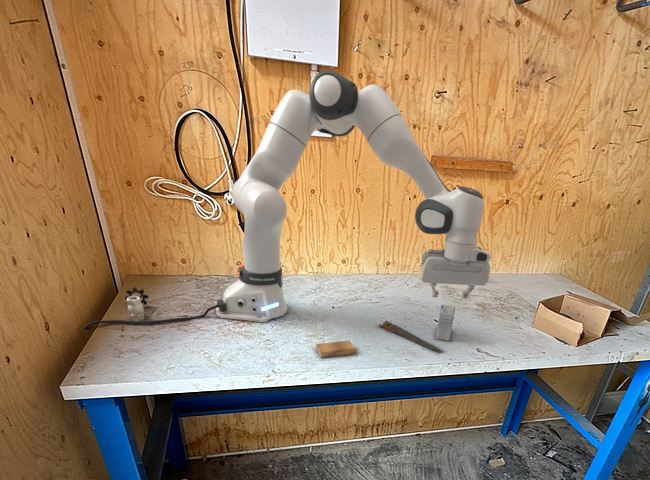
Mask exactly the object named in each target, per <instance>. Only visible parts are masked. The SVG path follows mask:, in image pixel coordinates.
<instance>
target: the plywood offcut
mask: <svg viewBox="0 0 650 480" xmlns="http://www.w3.org/2000/svg"><path fill="white" fill-rule="evenodd" d="M315 350H316V352H317V353H318V355H319V357H320V358H321V359H323V358H330V357H338V356H339V357H340V356H347V355H348V356H349V355H355V354H356V348H355V346H354V345H353V343H352V341H351V340H342V341H332V342H323V343H316V345H315Z"/></svg>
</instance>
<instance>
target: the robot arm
mask: <svg viewBox="0 0 650 480" xmlns="http://www.w3.org/2000/svg"><path fill="white" fill-rule="evenodd" d="M355 127H356V128H357V129H359V131H360V132H361V133H362V134H363V137H364V138H365V141H366V142H367V143H368V146H369V147H370V148H371V150H372V152H373V153H374V154H375V156H376V157H377V158H378V159H379V160H380V161H381V162H382V164H384V165H386V166H389V167H392V168H395V169H397V170H400V171H402V172H404V173H405V174H407V175H408V176H409V177H410V178H411V179H412V180H413V182H414V183H415V184H416V186H417V188H418V189H419V191H420V192H421V194H422V195H423V196H424V198H425V199H424V200H423V201H421V202H420V203H419V204H418V205H417V206H416V210H415V213H414V219H415V224H416V226H417V227H418V229H419V230H420V231H421V232H422V233H424V234H427V235H444V236H445V239H444V244H443V249H432V248H430V249H427V250H425V251H424V252H423V253H422V256H421V267H420V270H419V279H420V280H421V282H422V283H424V284H429V285H430V288H431V291H432V292H431V297H432V298H439V290H438V289H436V288H435V287H437V284H443V285H464V286H468V288H467V289H466V290H465V291H464V290H463V291H462V294H461V298H462V299H464V300H468V299H469V297H470V294H471V293H472V292H473V291H474V289H475V287H476V286H481V287H483V286H486V285H487V284H488V282H489V279H490V278H489V277H490V273H491V265H490V263H489V262H490V260H491V258H492V257H491V254H490V253H489V252H488V251H487V250H486V249H485V248H482V247H481V246H478V245H477V244H478V233H479V230H480V228H481V226H482V225H481V224H482V221H483V214H484V206H485V205H484V204H485V199H484V195H483V194H482V193H481V192H480V191H479V190H476V189H475V188H471V187H468V186H458V187H456V188H455V189H453V190H450V189H449V188H448V187H447V186H446V185H445V183H444V182H443V180H442V179H441V177H440V175H439V174H438V173H437V171H436V169H435V168H434V167H433V165H432V164H431V162H430V161H429V159H428V157H427V156H426V155H425V153H424V152H423V150H422V148H421V146H420V145H419V143H418V142H417V140H416V138H415V136H414V135H413V133H412V131H411V129H410V127H409V125H408V124H407V122H406V120H405V118H404V117H403V115H402V114H401V111H400V110H399V108H398V107H397V105H396V104H395V103H394V101H393V100H392V98H391V97H390V96H389V95H388V93H387V92H386V91H385V90H384V89H383V88H382V87H381V86H380V85H378V84H375V83H374V84H369V85H366V86H364V87H363V88H361V89H360V90H358V86H357V84H356V83H355V82H353V81H352V80H349V79H348V78H346V77H344V76H343V75H342V74H340V73H338V72H336V71H334V70H330V69H327V70H321V71H320V72H318V73H317V74H316V75H315V76H314V78H312V80H311V83H310V86H309V92H308V94H307V93H306V92H305V91H302V90H299V89H290V90H288V91H287V92H286V93H284V96H283V97H282V99H280V102H279V103H278V105H277V107H276V108H275V110H274V112H273V113H272V116H271V118H270V120H269V122H268V125H267V127H266V129H265V131H264V134H263V136H262V139H261V140H260V143H259V145H258V147H257V149H256V151H255V153H254V155H253V156H252V157H251V159H250V161H249V163H248V164H247V165H246V167H245V168H244V170H243V171H242V173H241V175H240V176H239V178H238V179H237V180H236V181H235V182H234V184H233V185H232V188H231V198H232V201H233V204H234V205H235V208H236V209H237V210H238V211H239V212H240V213H241V214H242V215H243V218H244V233H243V239H242V241H241V247H242V256H243V264H239V266H238V268H237V277H238V279H237V280H236V281H234V282H233V283H232V284H230V285H229V286H228V287H227V288H225V290H224V292H223V296H222V298H221V299H216V304H215V305H212V306H210V307H208V308H207V309H206V310H205V312H204V313H202V314H200V315H197V316H191V317H190V316H189V317H174V318H166V319H158V320H142V321H133V320H125V319H108V320H107V319H106V320H94V321H91V322H88V323H87V324H85V325H84V326H83V327H82V330H88V328H89V327H91V326H92V325H97V324H120V323H121V324H132V325H150V324H162V323H163V324H164V323H170V322H178V321H179V322H181V321H189V320H190V321H191V320H197V319H201V318H204V317H206V316H207V315H208V313H209V312H211V311H212V310H214V309H215V311H216V312H215V313H216V316H217V317H218V318H221V319H228V320H229V319H230V320H238V321H246V322H247V321H249V322H257V323H267V322H268V321H270V320H273V319H276V318H280V317H282V316H284V315H285V314H287V312H288V308H287V304H286V300H285V296H284V291H283V284H284V277H283V276H284V275H283V268H282V267H281V244H280V243H281V236H282V229H283V222H284V220H285V219H286V216H287V211H288V210H287V208H288V207H287V203H286V200H285V199H284V197H283V195H282V194H281V193H280V191H279V190H280V189H281V188H282V187H283V186H284V184H285V182H286V181H287V180H288V179H289V178H290V177H292V176H293V175H294V173H295V171H296V169H297V167H298V165H299V163H300V161H301V159H302V156H303V154H304V152H305V150H306V147H307V146H308V143H309V140H310V139H311V137H312V135H313V133H314V132H315V131H316V130H317V131H318V132H319V133H322V134H327V135H330V136H332V137H333V136H334V137H346V136H348V135H349V134H350V133H352V131H354V129H355Z"/></svg>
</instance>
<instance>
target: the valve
mask: <svg viewBox="0 0 650 480" xmlns="http://www.w3.org/2000/svg"><path fill="white" fill-rule="evenodd" d="M125 293H126V294H128V295H125V296H124V300H125V301H126V302H127V310H128V313H129V314H130V318H131V321H145V313H144V311H145V307H144V306H146V305H147V304H148V301H147V300H146V299H149V294H147V293H146V294H144V293H145V289H144V288H140V290H138V287H137V286H133V287H132V290H130V289H126V292H125ZM135 293H136V294H135ZM137 293H138V294H137ZM132 294H134V295H132ZM139 294H140V295H139ZM141 298H142V299H141Z"/></svg>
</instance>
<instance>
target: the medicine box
mask: <svg viewBox="0 0 650 480" xmlns="http://www.w3.org/2000/svg"><path fill="white" fill-rule="evenodd" d="M455 310H456V306H455V305H449V304H441V306H440V311H439V315H438V321H437V326H436V333H435V340H441V341H448V342H449V341H450V340H451V334H452V329H453V324H454V317H455Z"/></svg>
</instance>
